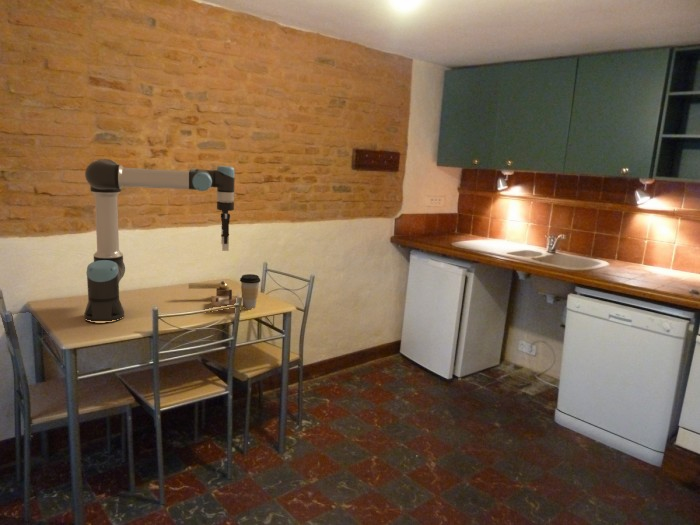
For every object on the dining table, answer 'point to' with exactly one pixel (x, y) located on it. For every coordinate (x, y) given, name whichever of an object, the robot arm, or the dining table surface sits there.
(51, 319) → the dining table surface
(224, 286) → the latch bar
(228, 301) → the tan stepped block
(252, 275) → the coffee cup
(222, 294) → the jamb block
